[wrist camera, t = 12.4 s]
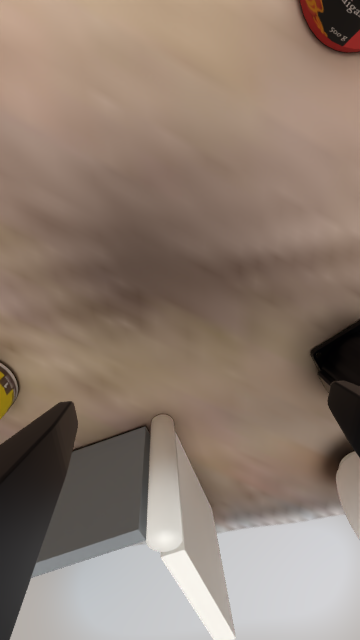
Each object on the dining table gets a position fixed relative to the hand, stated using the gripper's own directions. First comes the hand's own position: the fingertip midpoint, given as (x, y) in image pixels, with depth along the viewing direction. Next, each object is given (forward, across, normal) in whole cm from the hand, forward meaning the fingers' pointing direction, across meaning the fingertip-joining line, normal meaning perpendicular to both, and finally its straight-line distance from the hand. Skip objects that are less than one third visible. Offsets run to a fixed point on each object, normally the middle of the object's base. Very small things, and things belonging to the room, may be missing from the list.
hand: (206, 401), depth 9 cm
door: (+13, +11, +15) cm, 22 cm away
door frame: (+13, 0, +18) cm, 22 cm away
